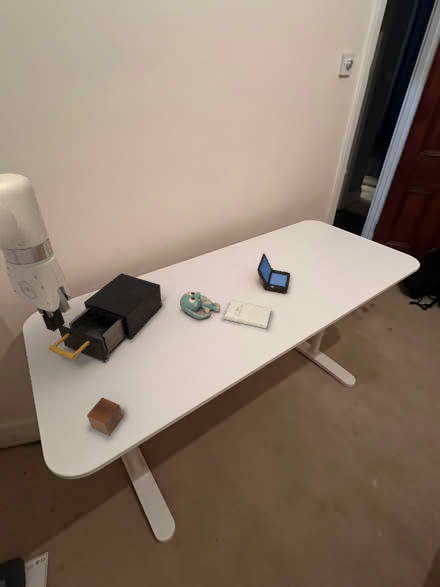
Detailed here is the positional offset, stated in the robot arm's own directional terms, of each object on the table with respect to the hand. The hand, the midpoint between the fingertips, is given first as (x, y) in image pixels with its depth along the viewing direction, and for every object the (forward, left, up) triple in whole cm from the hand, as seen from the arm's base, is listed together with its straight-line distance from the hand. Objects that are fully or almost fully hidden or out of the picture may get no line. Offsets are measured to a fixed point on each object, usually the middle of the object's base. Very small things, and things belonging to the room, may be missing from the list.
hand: (56, 326), depth 64 cm
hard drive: (+36, -32, -14) cm, 50 cm away
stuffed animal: (+32, -18, -14) cm, 40 cm away
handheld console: (+57, -34, -14) cm, 68 cm away
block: (-8, -17, -14) cm, 23 cm away
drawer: (+9, 0, -13) cm, 15 cm away
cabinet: (+21, 0, -14) cm, 25 cm away
